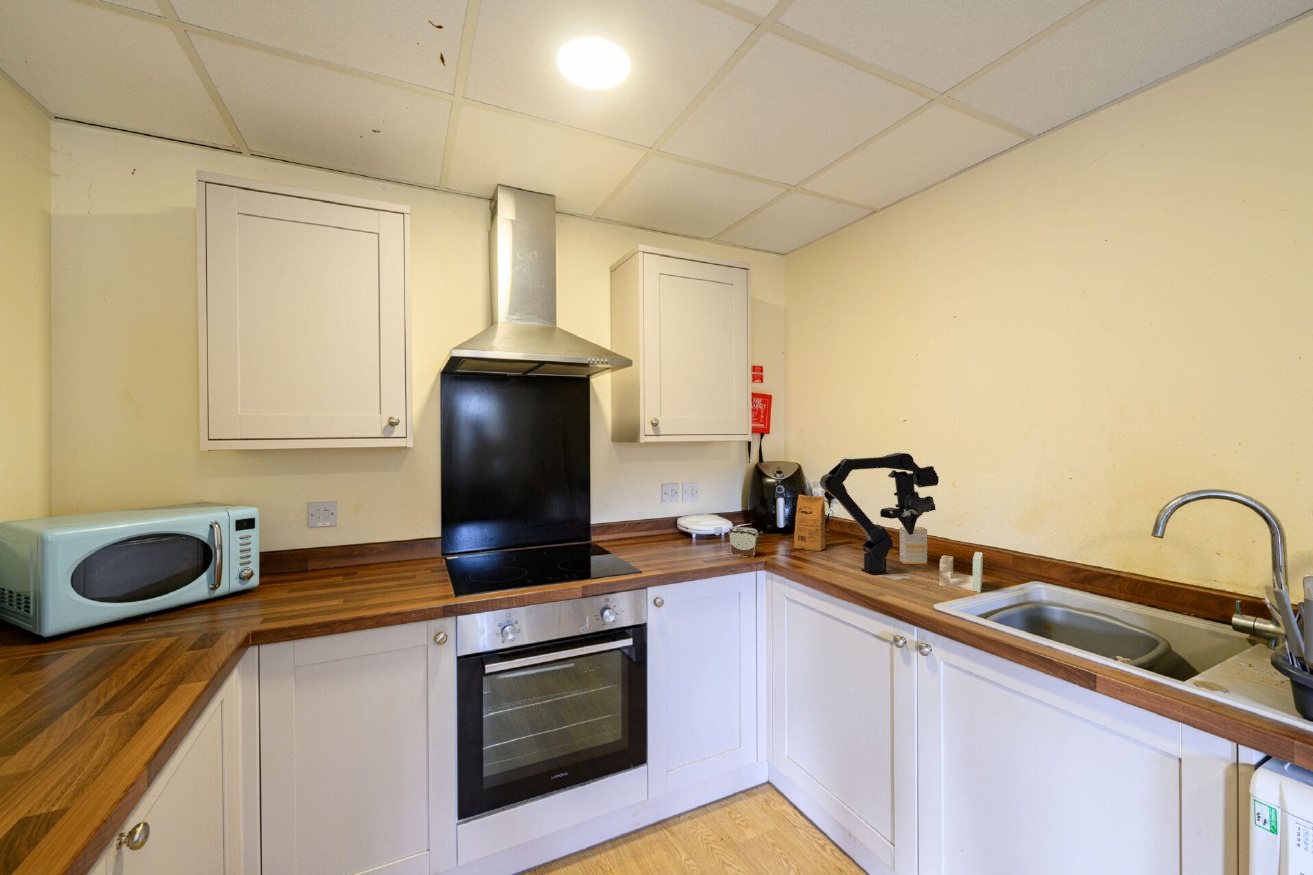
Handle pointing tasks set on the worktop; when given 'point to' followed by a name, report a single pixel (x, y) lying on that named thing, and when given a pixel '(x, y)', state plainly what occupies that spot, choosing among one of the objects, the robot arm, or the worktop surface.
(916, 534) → the supplement box
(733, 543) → the food container
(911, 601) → the worktop surface
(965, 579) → the stepped block
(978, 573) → the board
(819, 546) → the coffee package
